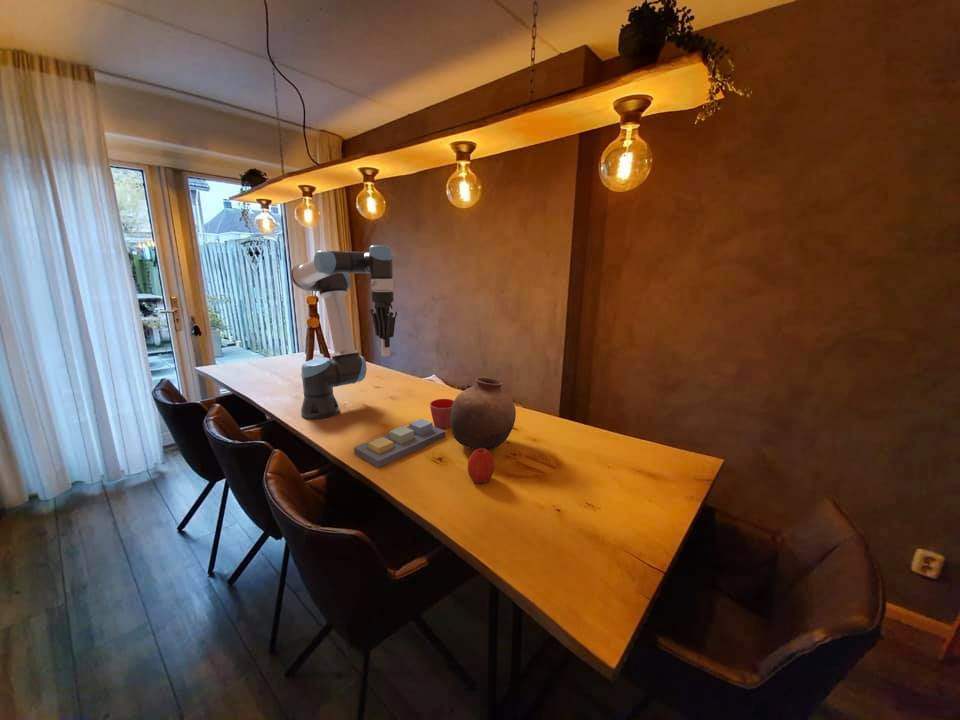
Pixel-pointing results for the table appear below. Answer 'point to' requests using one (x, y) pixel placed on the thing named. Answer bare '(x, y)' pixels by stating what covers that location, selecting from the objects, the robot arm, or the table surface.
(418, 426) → the blue button
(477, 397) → the pottery
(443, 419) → the flower pot
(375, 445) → the ochre button
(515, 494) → the table surface
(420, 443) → the button board
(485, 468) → the red oval body
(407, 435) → the sage button
